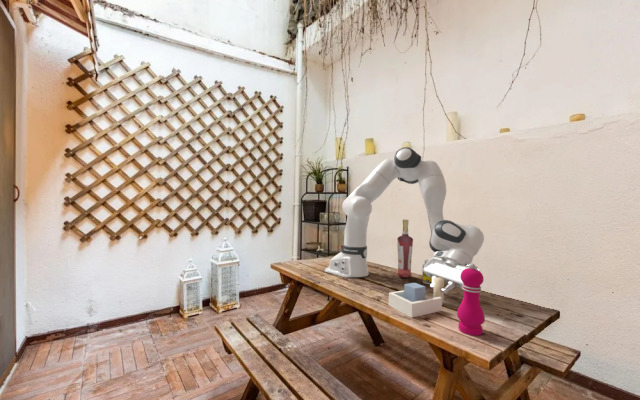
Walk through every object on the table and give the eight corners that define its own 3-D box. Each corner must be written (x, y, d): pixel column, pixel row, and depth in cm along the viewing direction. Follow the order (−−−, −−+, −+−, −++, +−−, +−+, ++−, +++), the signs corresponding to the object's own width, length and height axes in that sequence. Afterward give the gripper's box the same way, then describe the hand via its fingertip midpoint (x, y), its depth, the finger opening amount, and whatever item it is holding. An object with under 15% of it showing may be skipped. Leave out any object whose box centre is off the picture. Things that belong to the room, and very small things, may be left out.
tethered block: (414, 311, 97) (414, 285, 97) (403, 306, 101) (404, 281, 101) (447, 304, 104) (448, 280, 104) (436, 299, 109) (437, 276, 108)
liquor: (413, 279, 135) (415, 220, 134) (397, 278, 135) (399, 220, 135) (410, 275, 142) (411, 219, 141) (395, 274, 143) (396, 219, 142)
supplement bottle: (419, 281, 132) (420, 259, 132) (429, 280, 134) (430, 258, 134) (427, 285, 127) (428, 262, 127) (437, 284, 128) (438, 261, 128)
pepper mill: (455, 323, 89) (457, 259, 88) (482, 327, 86) (484, 262, 86) (457, 333, 82) (459, 264, 82) (486, 338, 79) (488, 267, 79)
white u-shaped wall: (411, 317, 92) (411, 303, 92) (388, 305, 102) (388, 292, 102) (441, 310, 98) (441, 297, 98) (416, 299, 108) (417, 287, 108)
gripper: (486, 273, 101) (466, 305, 97) (438, 260, 119) (420, 286, 115) (478, 262, 99) (458, 294, 95) (431, 251, 117) (413, 277, 113)
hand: (437, 290), depth 105 cm, fingers closed on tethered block, 4 cm apart
